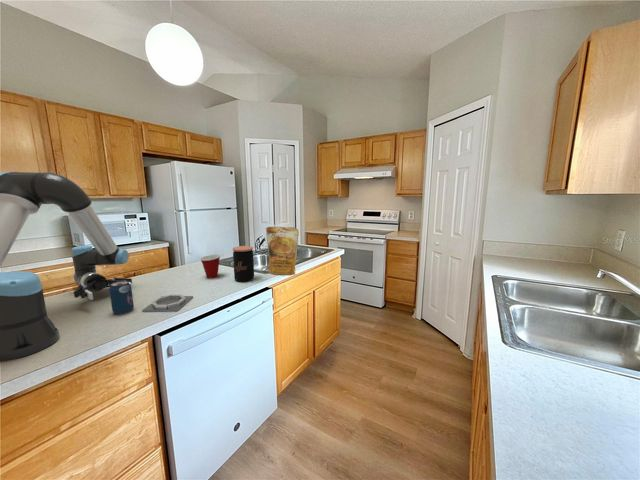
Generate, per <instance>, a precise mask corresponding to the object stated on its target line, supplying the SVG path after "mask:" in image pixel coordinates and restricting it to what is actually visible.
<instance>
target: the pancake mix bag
mask: <svg viewBox="0 0 640 480" xmlns="http://www.w3.org/2000/svg"><path fill="white" fill-rule="evenodd" d="M265 233H266V243H267V252H268V263H269V269H268V270H269V271H268V274H271V275H276V276H294V275H296V262H297V253H298V245H299V229H298V228H297V227H295V226H294V227H291V226H290V227H286V226H267V227H265Z"/></svg>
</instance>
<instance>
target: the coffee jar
mask: <svg viewBox="0 0 640 480" xmlns="http://www.w3.org/2000/svg"><path fill="white" fill-rule="evenodd" d="M253 250H254V247H253V246H251V245H239V246H235V247H233V248H232V251H233V252H232V259H233V260H232V261H233V274H234V280H235V282H239V283H247V282H251V281H253V280H254V278H255V265H254V264H255V261H254V251H253Z"/></svg>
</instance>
